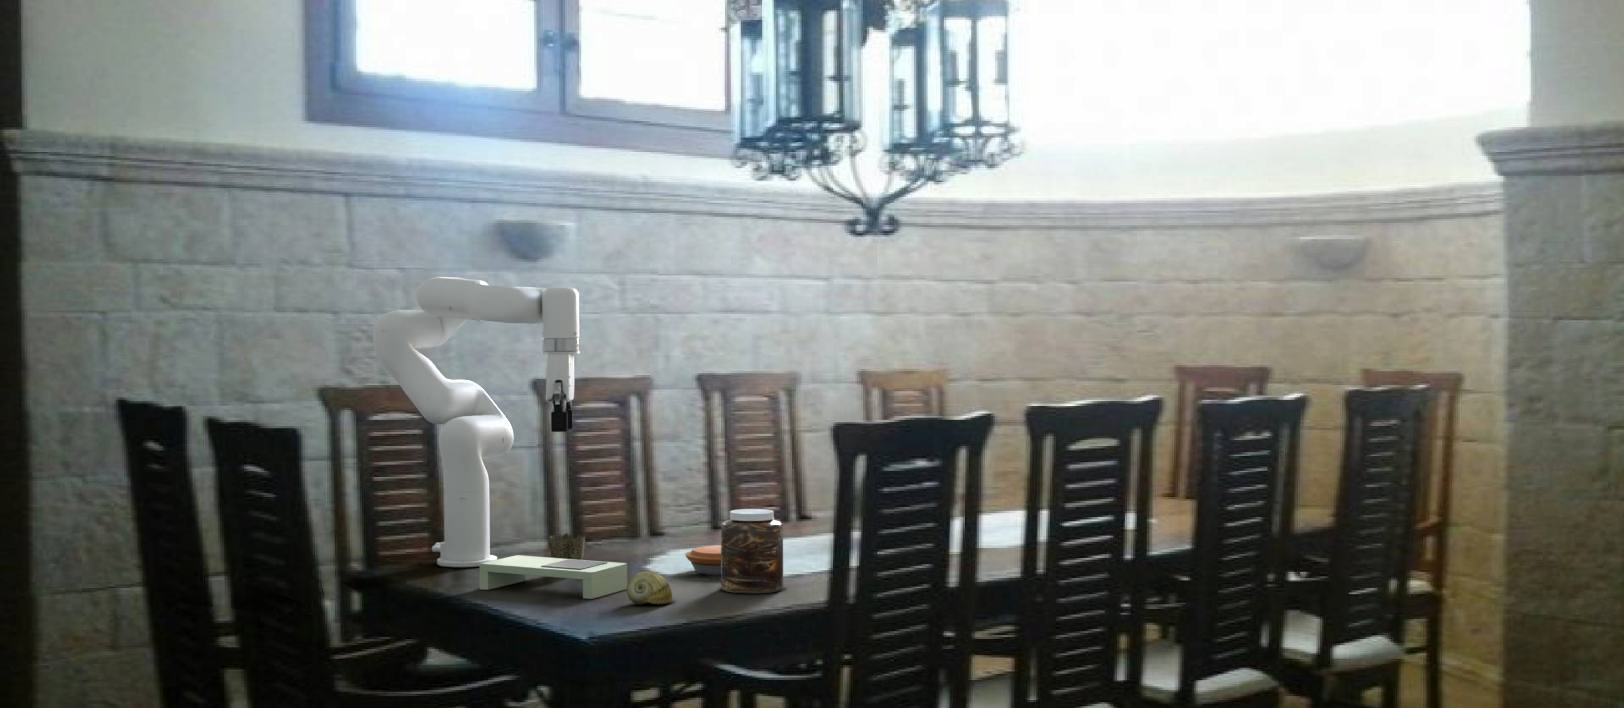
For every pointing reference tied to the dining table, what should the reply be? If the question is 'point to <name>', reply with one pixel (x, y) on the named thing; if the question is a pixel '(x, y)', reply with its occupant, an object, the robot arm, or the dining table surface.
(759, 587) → the jar
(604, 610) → the dining table surface
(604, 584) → the shelf
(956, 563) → the dining table surface
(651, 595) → the seashell
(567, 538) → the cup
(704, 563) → the pie
